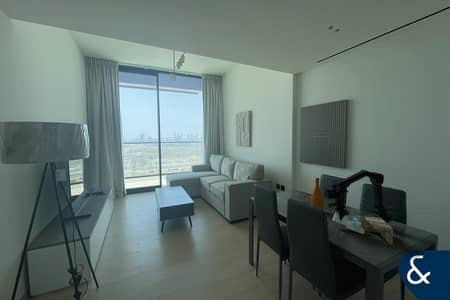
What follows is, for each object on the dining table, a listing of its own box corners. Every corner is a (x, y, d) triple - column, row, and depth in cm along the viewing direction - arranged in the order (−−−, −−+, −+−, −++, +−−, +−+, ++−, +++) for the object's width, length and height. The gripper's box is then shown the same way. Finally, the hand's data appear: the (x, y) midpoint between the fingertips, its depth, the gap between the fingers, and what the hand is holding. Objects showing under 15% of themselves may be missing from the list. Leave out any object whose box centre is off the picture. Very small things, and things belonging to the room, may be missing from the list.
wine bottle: (313, 208, 175) (313, 176, 173) (324, 211, 168) (325, 177, 166) (309, 211, 168) (309, 177, 166) (320, 214, 161) (321, 179, 159)
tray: (331, 216, 144) (333, 210, 143) (357, 226, 139) (360, 219, 138) (334, 223, 132) (337, 216, 132) (363, 234, 127) (367, 226, 126)
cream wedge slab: (364, 230, 132) (365, 216, 132) (380, 232, 129) (380, 218, 129) (374, 242, 117) (374, 226, 116) (392, 245, 114) (393, 228, 114)
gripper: (325, 193, 147) (325, 213, 148) (330, 201, 130) (330, 223, 130) (342, 194, 144) (341, 215, 144) (349, 202, 126) (348, 225, 127)
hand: (340, 219), depth 137 cm, fingers closed on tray, 2 cm apart
